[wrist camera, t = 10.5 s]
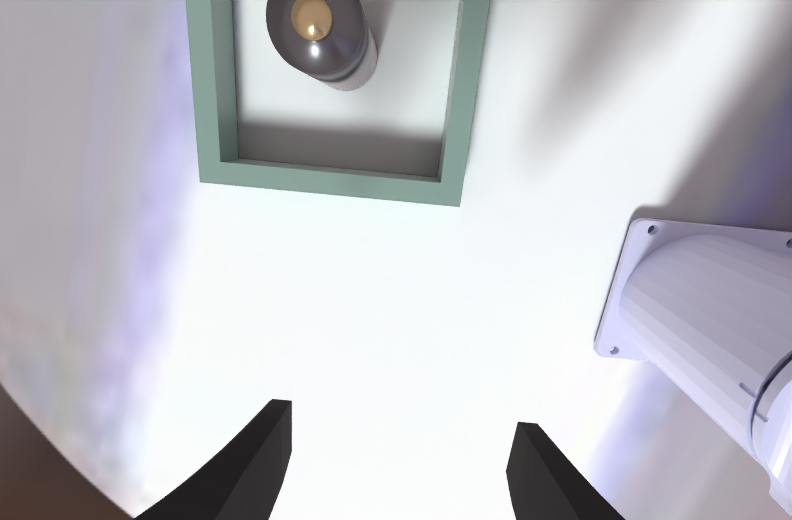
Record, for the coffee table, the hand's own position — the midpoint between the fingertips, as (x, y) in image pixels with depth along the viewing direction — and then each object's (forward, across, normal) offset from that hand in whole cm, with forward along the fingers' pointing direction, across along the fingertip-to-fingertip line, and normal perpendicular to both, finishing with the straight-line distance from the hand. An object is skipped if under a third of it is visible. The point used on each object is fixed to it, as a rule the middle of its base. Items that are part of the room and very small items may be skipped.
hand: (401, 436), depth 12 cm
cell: (+10, +4, -12) cm, 16 cm away
